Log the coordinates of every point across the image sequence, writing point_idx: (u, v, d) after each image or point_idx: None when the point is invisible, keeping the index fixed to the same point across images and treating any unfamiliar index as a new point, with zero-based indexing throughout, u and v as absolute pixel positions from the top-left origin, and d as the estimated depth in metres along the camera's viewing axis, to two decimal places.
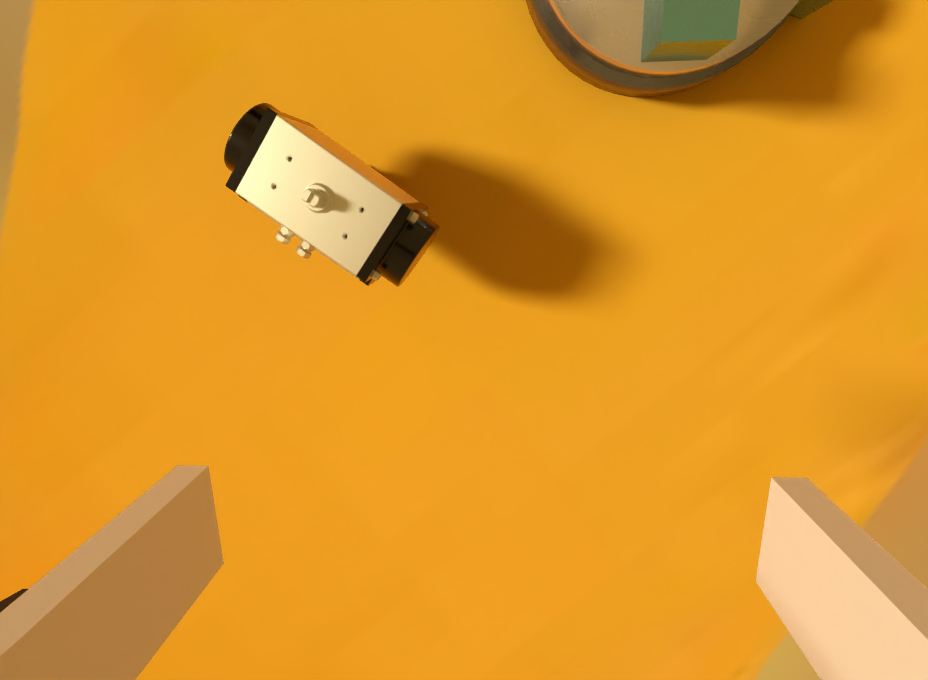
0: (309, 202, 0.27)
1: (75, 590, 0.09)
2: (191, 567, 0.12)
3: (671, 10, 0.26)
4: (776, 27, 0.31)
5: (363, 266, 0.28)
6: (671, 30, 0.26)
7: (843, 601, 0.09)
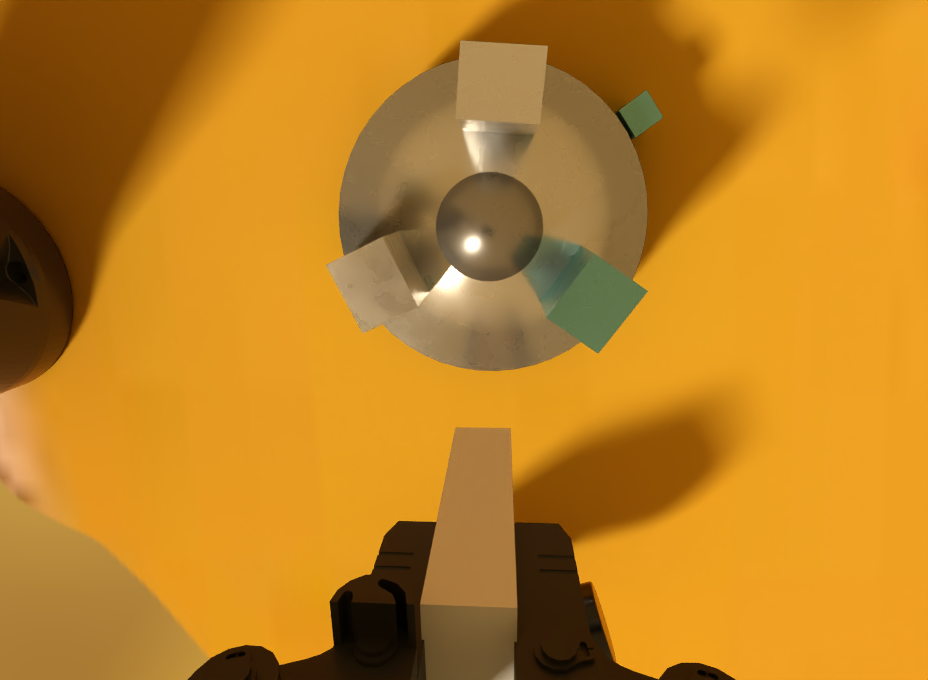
0: None
1: (474, 516, 0.11)
2: None
3: (579, 330, 0.25)
4: None
5: None
6: (595, 339, 0.25)
7: None
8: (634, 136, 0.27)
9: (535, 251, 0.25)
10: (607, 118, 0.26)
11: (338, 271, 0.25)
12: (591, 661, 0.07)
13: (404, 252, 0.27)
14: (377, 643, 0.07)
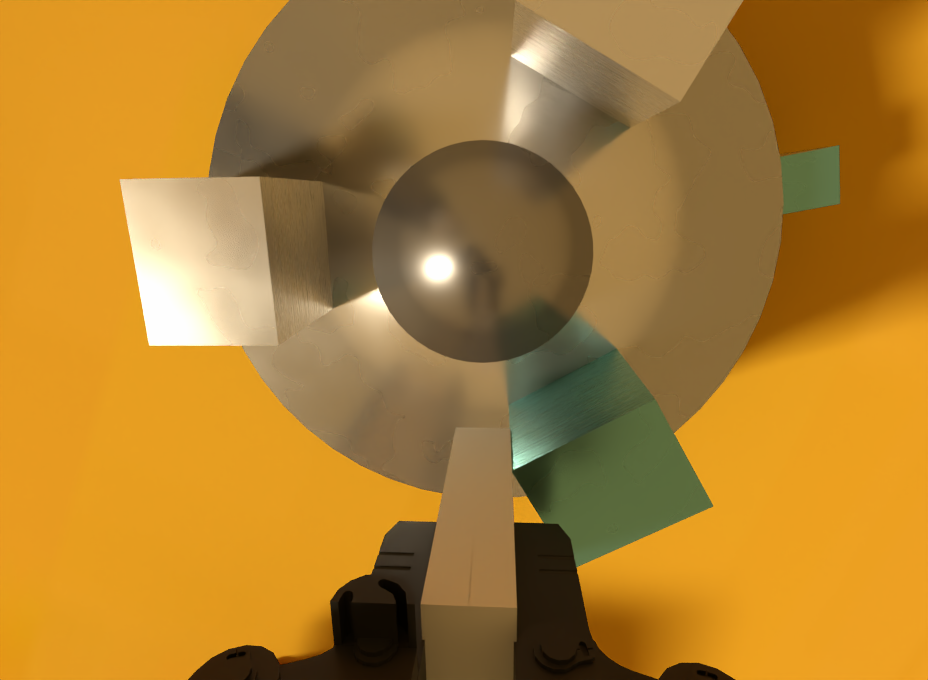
0: None
1: (474, 516, 0.11)
2: None
3: (559, 517, 0.12)
4: None
5: None
6: (579, 545, 0.13)
7: None
8: None
9: (545, 339, 0.12)
10: (764, 160, 0.14)
11: (141, 204, 0.11)
12: (590, 661, 0.07)
13: (312, 224, 0.14)
14: (377, 643, 0.07)
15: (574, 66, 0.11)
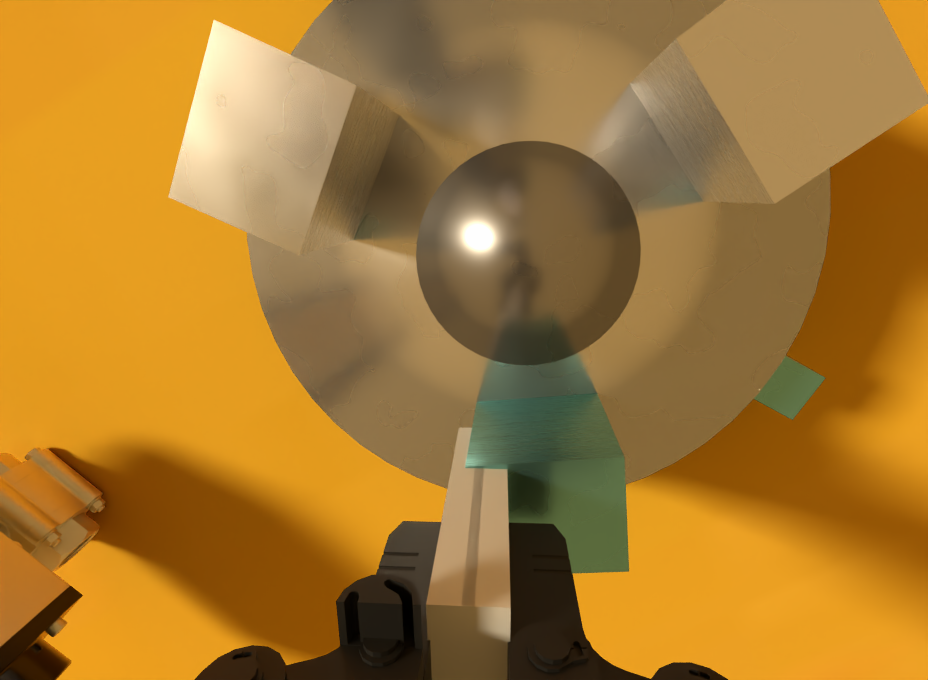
0: None
1: (478, 516, 0.10)
2: None
3: None
4: None
5: None
6: None
7: None
8: None
9: (549, 360, 0.12)
10: (802, 285, 0.14)
11: (225, 55, 0.10)
12: (584, 660, 0.07)
13: (374, 152, 0.13)
14: (383, 643, 0.07)
15: (689, 124, 0.12)
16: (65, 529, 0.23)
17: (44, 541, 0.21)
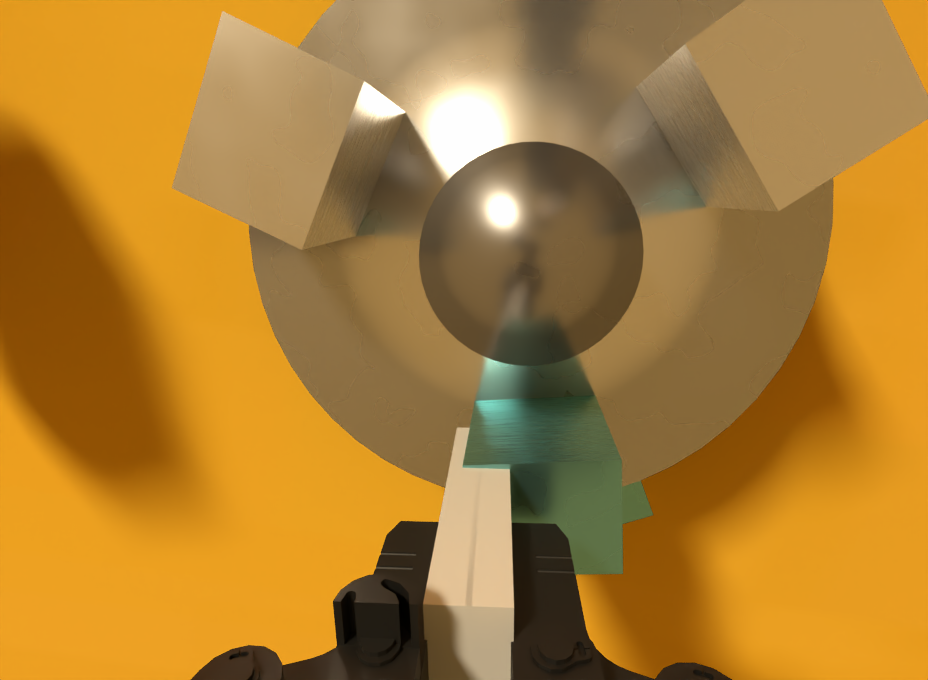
0: None
1: (476, 516, 0.10)
2: None
3: None
4: None
5: None
6: None
7: None
8: None
9: (549, 361, 0.12)
10: (802, 293, 0.14)
11: (233, 47, 0.10)
12: (588, 661, 0.07)
13: (379, 148, 0.13)
14: (380, 643, 0.07)
15: (695, 129, 0.12)
16: None
17: None
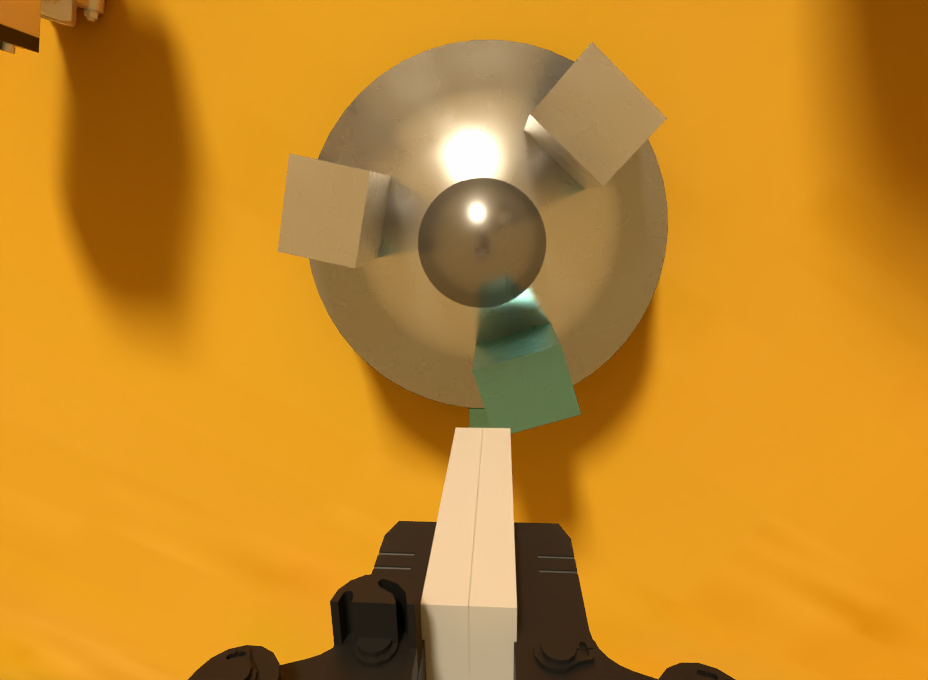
0: None
1: (474, 516, 0.11)
2: None
3: (493, 405, 0.21)
4: None
5: None
6: (501, 424, 0.21)
7: None
8: None
9: (508, 300, 0.21)
10: (658, 227, 0.23)
11: (298, 170, 0.19)
12: (591, 661, 0.07)
13: (381, 202, 0.22)
14: (377, 643, 0.07)
15: (556, 150, 0.20)
16: (60, 0, 0.25)
17: None
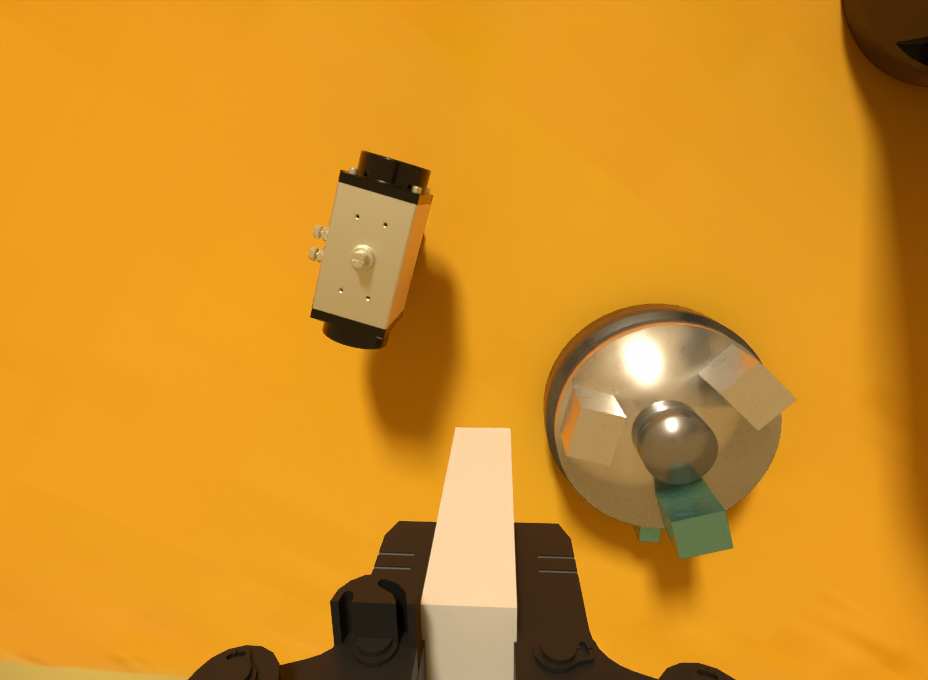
0: (354, 258, 0.30)
1: (474, 516, 0.11)
2: None
3: (681, 541, 0.36)
4: None
5: (322, 312, 0.32)
6: (685, 551, 0.36)
7: None
8: None
9: (692, 481, 0.36)
10: (775, 429, 0.38)
11: (584, 415, 0.34)
12: (591, 661, 0.07)
13: None
14: (378, 643, 0.07)
15: (725, 399, 0.35)
16: None
17: None
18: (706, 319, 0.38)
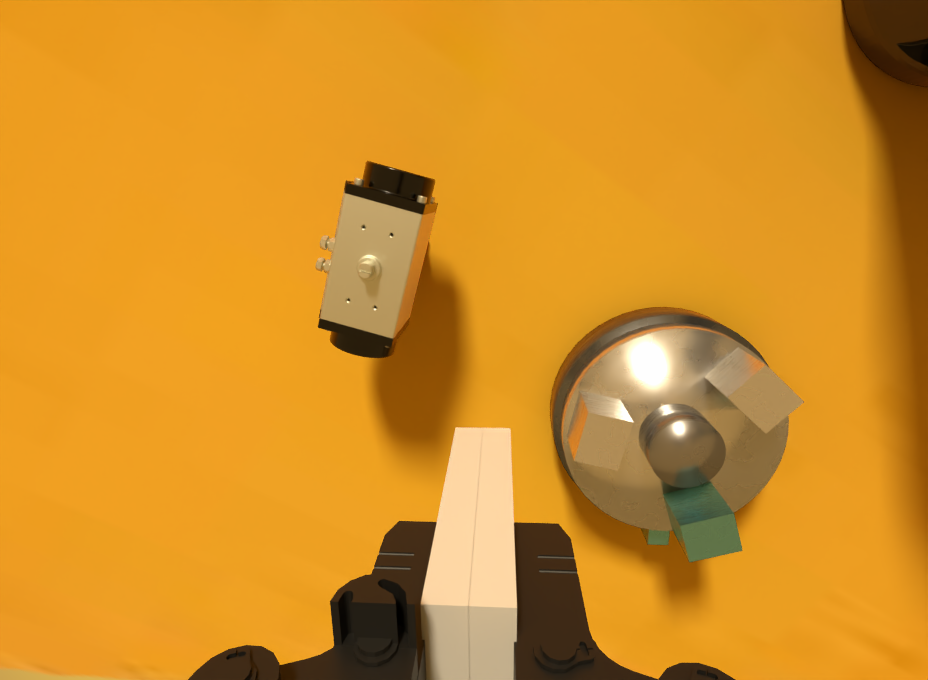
0: (361, 268, 0.30)
1: (474, 516, 0.11)
2: None
3: (690, 544, 0.36)
4: None
5: (330, 322, 0.32)
6: (694, 554, 0.37)
7: None
8: None
9: (700, 484, 0.36)
10: (782, 431, 0.38)
11: (592, 420, 0.34)
12: (591, 661, 0.07)
13: None
14: (377, 643, 0.07)
15: None
16: None
17: None
18: (711, 322, 0.39)
